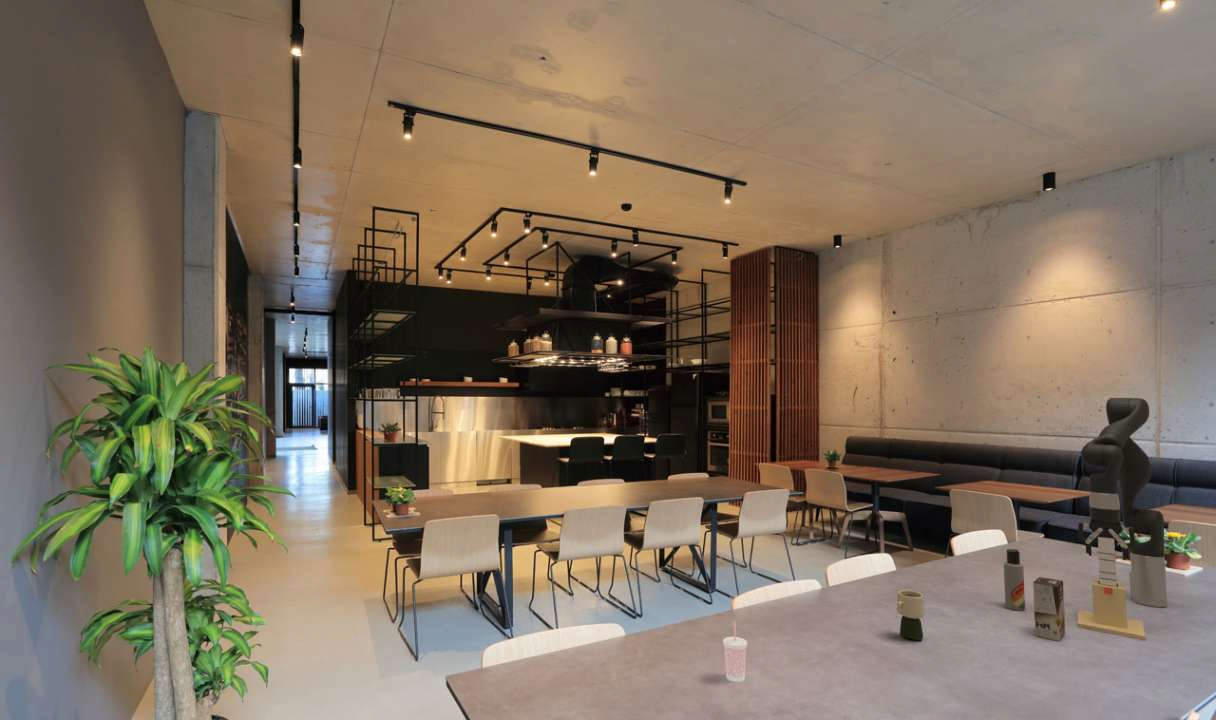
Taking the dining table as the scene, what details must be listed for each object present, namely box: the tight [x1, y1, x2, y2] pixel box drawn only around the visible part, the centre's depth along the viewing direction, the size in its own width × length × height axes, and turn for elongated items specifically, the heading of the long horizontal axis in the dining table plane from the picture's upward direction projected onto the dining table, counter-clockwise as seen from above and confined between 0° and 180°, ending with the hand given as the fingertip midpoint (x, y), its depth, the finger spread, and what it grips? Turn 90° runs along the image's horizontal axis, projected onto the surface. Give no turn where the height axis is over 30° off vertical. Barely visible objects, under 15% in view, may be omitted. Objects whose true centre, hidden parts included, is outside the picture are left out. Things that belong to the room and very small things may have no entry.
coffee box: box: [1032, 576, 1066, 642], centre depth 183 cm, size 9×6×16 cm
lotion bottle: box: [1003, 548, 1026, 612], centre depth 207 cm, size 6×6×20 cm
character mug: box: [896, 589, 925, 640], centre depth 179 cm, size 11×7×13 cm, turn 114°
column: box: [1097, 536, 1118, 587], centre depth 191 cm, size 4×4×20 cm
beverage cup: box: [722, 620, 748, 683], centre depth 152 cm, size 6×6×14 cm
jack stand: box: [1077, 578, 1146, 641], centre depth 190 cm, size 16×16×13 cm
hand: (1106, 557), depth 191 cm, fingers open, 8 cm apart
